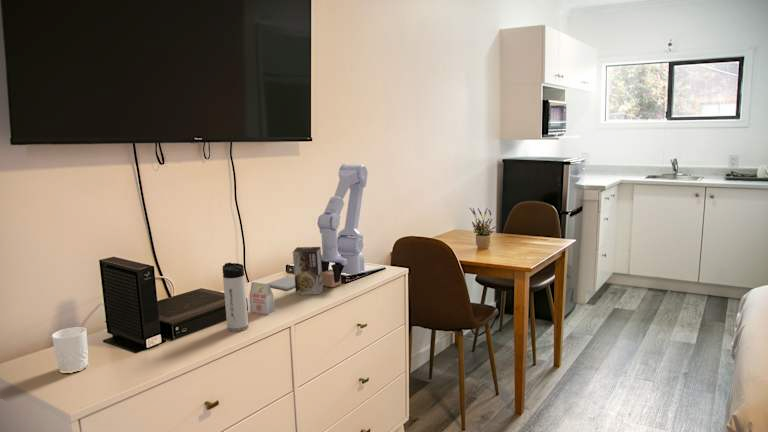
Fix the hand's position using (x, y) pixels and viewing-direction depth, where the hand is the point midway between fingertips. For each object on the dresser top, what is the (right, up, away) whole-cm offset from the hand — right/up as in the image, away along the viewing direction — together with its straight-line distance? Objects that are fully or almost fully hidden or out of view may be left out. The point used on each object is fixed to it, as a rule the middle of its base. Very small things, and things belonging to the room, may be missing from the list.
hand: (331, 280), depth 215 cm
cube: (0, -1, 0) cm, 2 cm away
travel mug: (-25, -10, -40) cm, 48 cm away
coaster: (-17, -2, +4) cm, 18 cm away
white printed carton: (-20, -8, -26) cm, 34 cm away
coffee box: (-7, -3, -7) cm, 11 cm away
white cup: (-61, -16, -65) cm, 91 cm away
